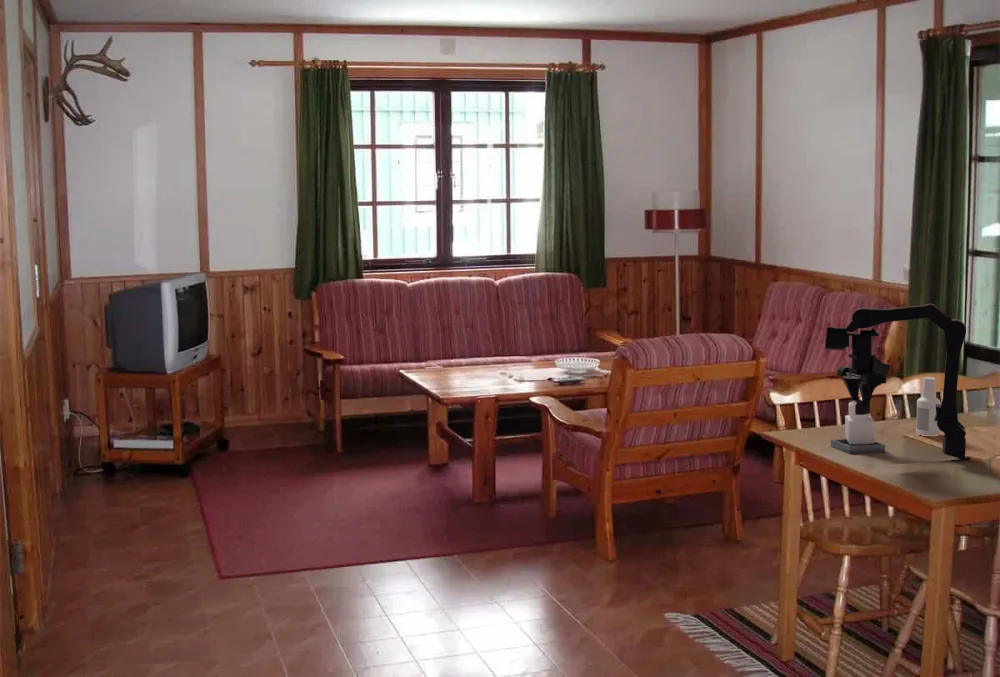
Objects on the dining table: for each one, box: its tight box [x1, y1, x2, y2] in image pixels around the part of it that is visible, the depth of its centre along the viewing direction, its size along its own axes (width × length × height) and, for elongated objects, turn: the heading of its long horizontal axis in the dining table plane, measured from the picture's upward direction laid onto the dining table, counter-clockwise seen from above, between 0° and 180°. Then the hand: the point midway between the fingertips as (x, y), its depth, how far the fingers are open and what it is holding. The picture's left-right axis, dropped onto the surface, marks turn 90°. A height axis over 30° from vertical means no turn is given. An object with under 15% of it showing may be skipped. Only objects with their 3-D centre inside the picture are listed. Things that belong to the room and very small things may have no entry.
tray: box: [830, 438, 886, 454], centre depth 348 cm, size 11×11×2 cm
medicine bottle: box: [844, 399, 875, 445], centre depth 349 cm, size 7×7×12 cm
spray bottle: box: [915, 376, 942, 435], centre depth 366 cm, size 7×7×18 cm
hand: (860, 404), depth 348 cm, fingers closed on medicine bottle, 6 cm apart
